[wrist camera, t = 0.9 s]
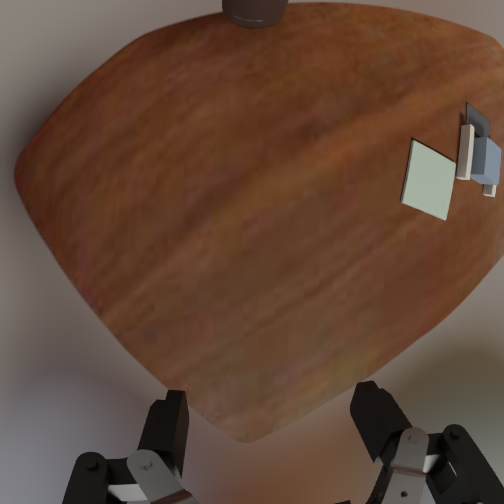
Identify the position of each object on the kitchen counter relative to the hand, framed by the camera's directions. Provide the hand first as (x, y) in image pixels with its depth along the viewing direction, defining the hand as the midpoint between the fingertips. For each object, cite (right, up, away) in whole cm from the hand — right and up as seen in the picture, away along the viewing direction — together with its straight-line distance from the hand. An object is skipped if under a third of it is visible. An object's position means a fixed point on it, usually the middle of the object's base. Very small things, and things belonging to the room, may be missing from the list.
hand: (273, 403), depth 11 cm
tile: (+27, +18, +25) cm, 41 cm away
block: (+40, +23, +25) cm, 52 cm away
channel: (+40, +26, +24) cm, 54 cm away
